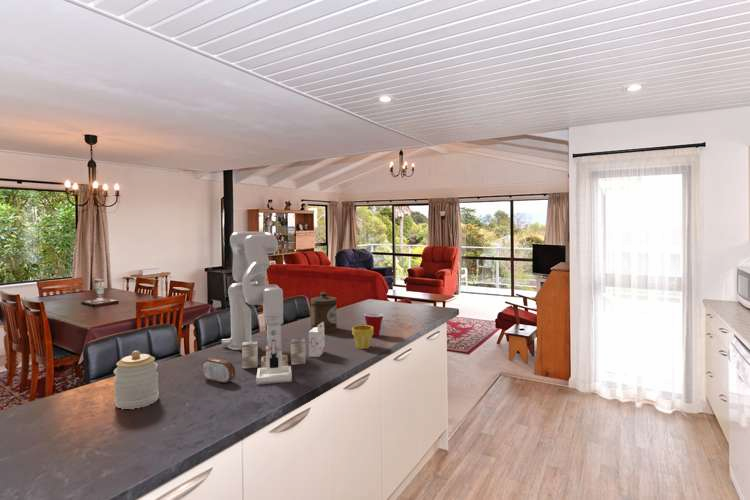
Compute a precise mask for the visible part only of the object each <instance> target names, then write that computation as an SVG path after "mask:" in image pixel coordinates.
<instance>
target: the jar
mask: <svg viewBox="0 0 750 500" xmlns="http://www.w3.org/2000/svg"><path fill="white" fill-rule="evenodd" d="M155 360H156V357H154V356H152V355H150V354H147V353H141V352H140V351H139V350H134V351H132V352H131V355H128V356H124V357H122V358H121V359H119V361H117V362H116V363H115V365H116V366H117V367H115V369H114V370H113V374H114V375H115V379H114V380H113V383H114V394H115V395H114V403H115V408H117V407H118V409H119V408H121V409H120V410H124V409H130V410H136V409H135V408H137V409H141V407H142V408H145V407H148V406H150V404H151V405H153V404H154V403H156V402H157V401H158V400H159V395H160V394H159V393H160V391H159V378H158V377H159V373H158V372H157V368H158V367H159V365H158V363H157V362H155Z"/></svg>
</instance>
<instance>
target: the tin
mask: <svg viewBox="0 0 750 500" xmlns="http://www.w3.org/2000/svg"><path fill="white" fill-rule="evenodd" d="M201 370H202V374H203V376H204V378H206V379H207V380H209V381H213V382H218V383H220V384H221V383H222V384H227V383H229V382H231V381H233V380H234V379H235V377H236V369H235V367H234V365H233V363H232V362H231V361H229V360H228V359H224V358H223V359H222V358H217V357H208V359H205V360H204V361H203V362H202V364H201Z"/></svg>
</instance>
